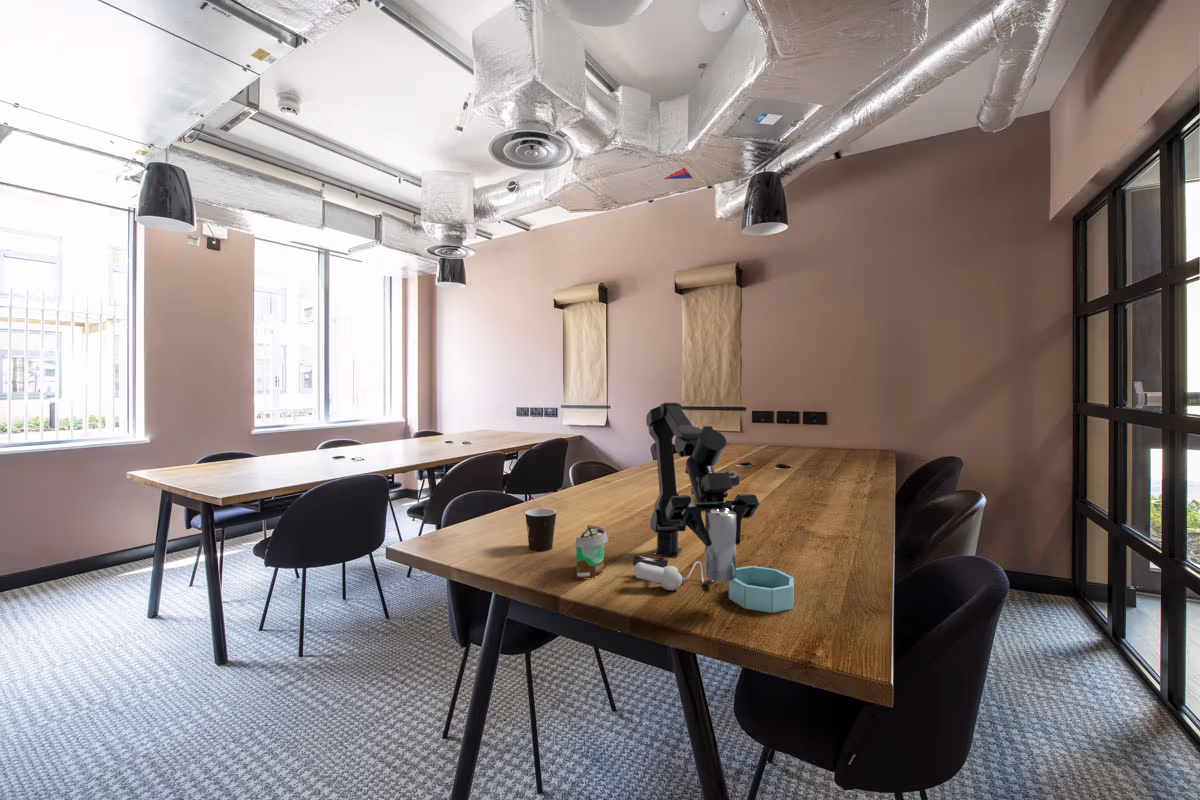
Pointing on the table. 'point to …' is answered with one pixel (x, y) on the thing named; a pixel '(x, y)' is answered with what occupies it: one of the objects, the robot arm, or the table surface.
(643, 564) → the clip-on lamp
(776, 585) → the bowl
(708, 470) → the robot arm
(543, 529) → the coffee mug
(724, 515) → the steel cylinder with balls
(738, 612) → the table surface
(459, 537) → the table surface
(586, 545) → the food container
